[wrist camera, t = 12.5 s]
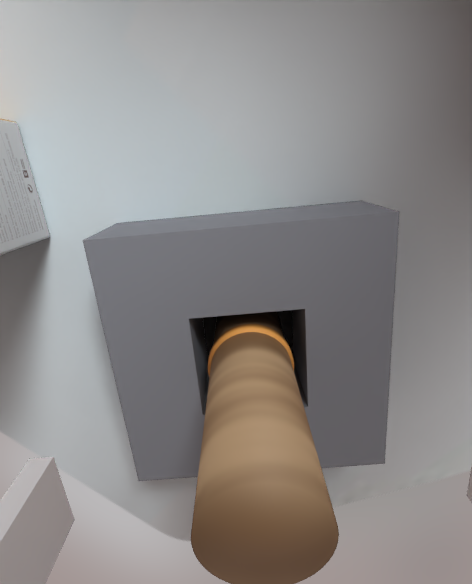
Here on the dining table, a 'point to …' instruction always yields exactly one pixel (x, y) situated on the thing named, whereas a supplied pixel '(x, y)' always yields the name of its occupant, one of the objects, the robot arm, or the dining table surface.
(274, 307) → the socket block
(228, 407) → the oak peg
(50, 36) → the dining table surface
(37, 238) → the small box
